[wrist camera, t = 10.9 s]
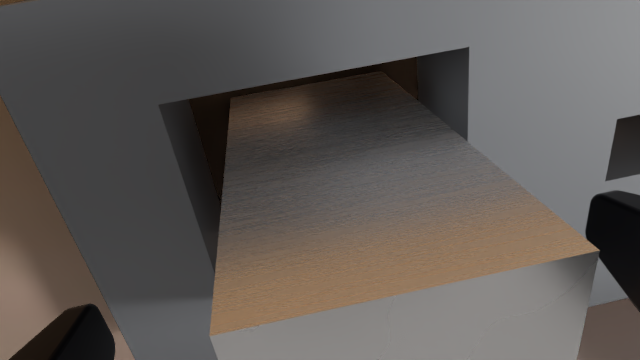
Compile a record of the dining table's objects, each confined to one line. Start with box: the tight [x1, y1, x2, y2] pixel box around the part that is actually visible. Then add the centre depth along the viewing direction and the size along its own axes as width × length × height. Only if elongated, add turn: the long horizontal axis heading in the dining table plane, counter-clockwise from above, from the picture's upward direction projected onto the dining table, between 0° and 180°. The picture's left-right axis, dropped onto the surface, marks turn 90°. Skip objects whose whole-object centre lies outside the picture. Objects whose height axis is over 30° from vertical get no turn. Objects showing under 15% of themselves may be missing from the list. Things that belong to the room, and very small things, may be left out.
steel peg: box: [209, 71, 600, 360], centre depth 9 cm, size 4×4×8 cm
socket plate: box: [0, 0, 640, 360], centre depth 11 cm, size 10×20×3 cm, turn 98°
